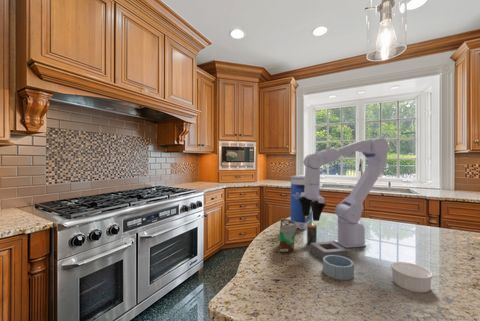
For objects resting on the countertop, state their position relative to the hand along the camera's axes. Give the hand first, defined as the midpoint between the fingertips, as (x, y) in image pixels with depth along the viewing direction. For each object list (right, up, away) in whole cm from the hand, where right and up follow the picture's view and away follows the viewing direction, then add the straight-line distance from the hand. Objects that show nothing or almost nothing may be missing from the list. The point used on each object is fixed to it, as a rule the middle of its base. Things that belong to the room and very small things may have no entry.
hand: (310, 218), depth 91 cm
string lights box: (+3, -11, +26) cm, 28 cm away
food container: (-10, -11, -5) cm, 16 cm away
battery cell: (0, -10, 0) cm, 10 cm away
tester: (+3, -10, -11) cm, 15 cm away
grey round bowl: (+1, -10, -24) cm, 26 cm away
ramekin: (+18, -11, -30) cm, 36 cm away
